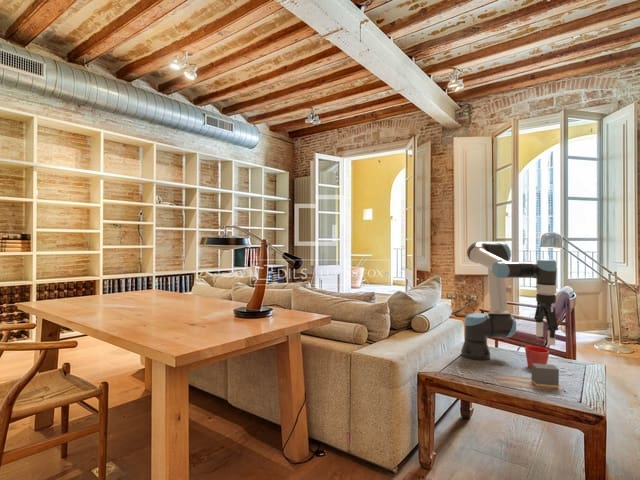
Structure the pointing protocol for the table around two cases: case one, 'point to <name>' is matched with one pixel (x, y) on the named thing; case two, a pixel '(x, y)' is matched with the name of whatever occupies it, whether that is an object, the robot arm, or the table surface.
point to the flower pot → (536, 355)
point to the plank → (522, 383)
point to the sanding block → (545, 375)
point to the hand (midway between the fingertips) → (545, 340)
